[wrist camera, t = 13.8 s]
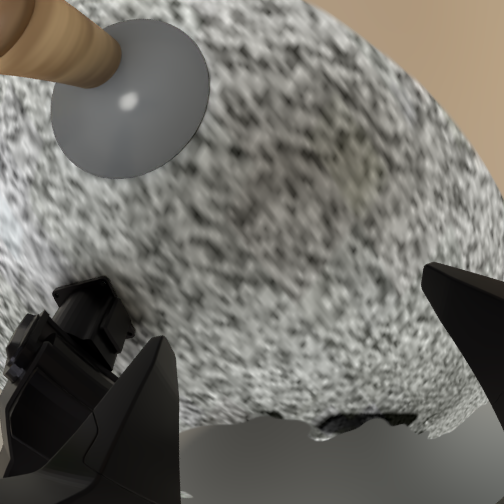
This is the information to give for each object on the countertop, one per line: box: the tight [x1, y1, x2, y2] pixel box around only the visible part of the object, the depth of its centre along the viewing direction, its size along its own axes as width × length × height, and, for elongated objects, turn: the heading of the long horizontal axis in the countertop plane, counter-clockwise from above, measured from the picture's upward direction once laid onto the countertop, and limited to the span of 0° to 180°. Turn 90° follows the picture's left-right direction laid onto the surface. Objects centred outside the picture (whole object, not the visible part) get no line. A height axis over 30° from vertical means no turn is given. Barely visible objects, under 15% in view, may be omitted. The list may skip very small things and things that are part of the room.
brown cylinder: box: [0, 0, 122, 89], centre depth 8 cm, size 4×4×12 cm
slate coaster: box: [51, 19, 209, 179], centre depth 15 cm, size 12×12×1 cm
